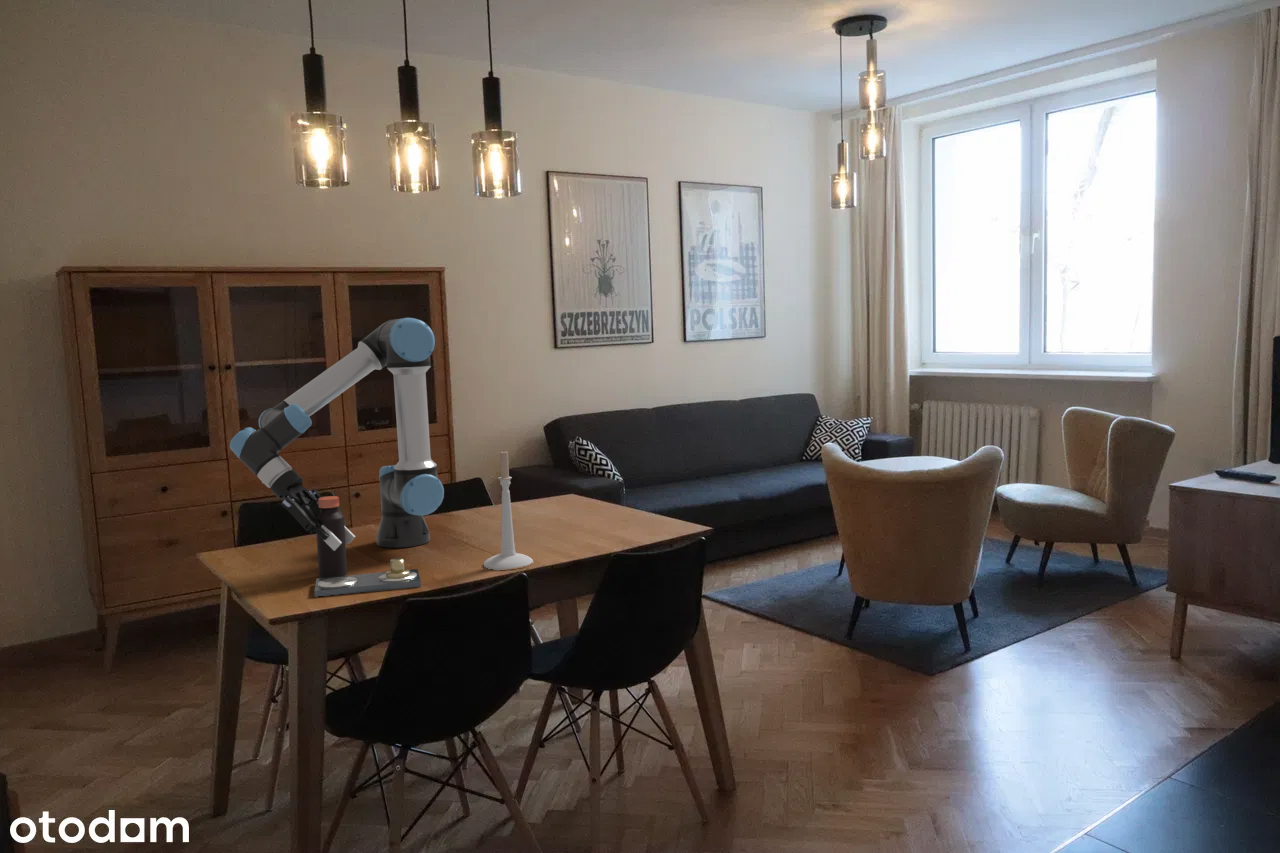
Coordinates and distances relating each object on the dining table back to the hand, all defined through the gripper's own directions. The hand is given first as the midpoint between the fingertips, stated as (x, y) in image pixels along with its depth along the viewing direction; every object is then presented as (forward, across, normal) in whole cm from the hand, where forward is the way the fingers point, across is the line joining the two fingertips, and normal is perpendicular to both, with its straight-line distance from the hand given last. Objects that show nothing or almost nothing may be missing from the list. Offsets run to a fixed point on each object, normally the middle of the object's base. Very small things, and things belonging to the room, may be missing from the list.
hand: (344, 543), depth 233 cm
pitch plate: (+13, +8, +1) cm, 15 cm away
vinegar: (+4, 0, -9) cm, 9 cm away
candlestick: (+33, -16, +20) cm, 41 cm away
